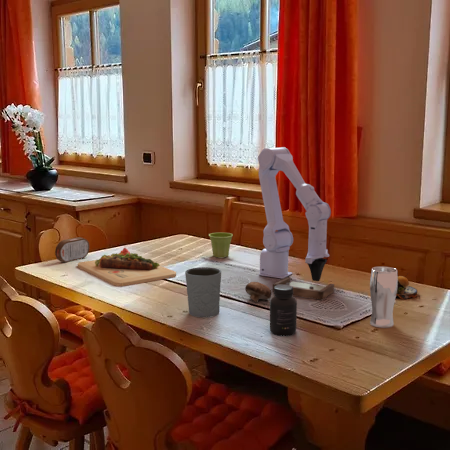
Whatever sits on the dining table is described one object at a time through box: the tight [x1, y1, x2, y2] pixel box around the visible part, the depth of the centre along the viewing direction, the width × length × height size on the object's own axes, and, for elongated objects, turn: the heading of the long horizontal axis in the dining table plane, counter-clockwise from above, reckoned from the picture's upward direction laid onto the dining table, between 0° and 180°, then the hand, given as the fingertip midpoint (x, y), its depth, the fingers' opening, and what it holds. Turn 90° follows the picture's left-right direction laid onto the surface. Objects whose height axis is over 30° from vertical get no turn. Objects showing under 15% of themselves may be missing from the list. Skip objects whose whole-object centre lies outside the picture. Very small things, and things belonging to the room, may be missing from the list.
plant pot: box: [208, 232, 234, 259], centre depth 240 cm, size 9×9×9 cm
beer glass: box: [369, 266, 398, 329], centre depth 160 cm, size 7×7×15 cm
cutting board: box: [77, 247, 177, 287], centre depth 217 cm, size 35×23×8 cm
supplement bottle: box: [269, 285, 298, 337], centre depth 154 cm, size 7×7×12 cm
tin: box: [54, 236, 90, 263], centre depth 233 cm, size 15×3×8 cm, turn 144°
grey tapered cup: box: [185, 266, 222, 318], centre depth 170 cm, size 10×10×12 cm
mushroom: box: [244, 281, 272, 303], centre depth 182 cm, size 8×8×6 cm
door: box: [290, 280, 326, 290], centre depth 192 cm, size 12×7×2 cm, turn 59°
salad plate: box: [396, 272, 418, 300], centre depth 189 cm, size 12×12×8 cm
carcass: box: [272, 276, 335, 301], centre depth 191 cm, size 16×10×3 cm, turn 59°
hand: (316, 280), depth 200 cm, fingers closed
